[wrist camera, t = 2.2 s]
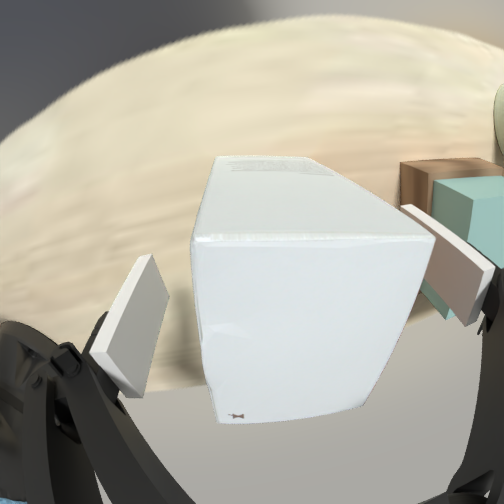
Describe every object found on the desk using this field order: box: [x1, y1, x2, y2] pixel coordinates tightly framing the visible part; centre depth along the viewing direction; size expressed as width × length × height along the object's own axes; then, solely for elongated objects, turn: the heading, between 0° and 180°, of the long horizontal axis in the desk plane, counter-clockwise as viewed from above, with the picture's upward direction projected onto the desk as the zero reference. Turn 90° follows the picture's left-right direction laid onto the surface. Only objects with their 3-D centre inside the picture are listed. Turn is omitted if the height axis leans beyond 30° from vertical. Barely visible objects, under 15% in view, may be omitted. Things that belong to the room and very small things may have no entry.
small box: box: [190, 156, 436, 424], centre depth 13 cm, size 8×6×13 cm
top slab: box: [420, 176, 504, 320], centre depth 15 cm, size 9×9×4 cm
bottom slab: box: [400, 158, 504, 294], centre depth 19 cm, size 10×10×4 cm
